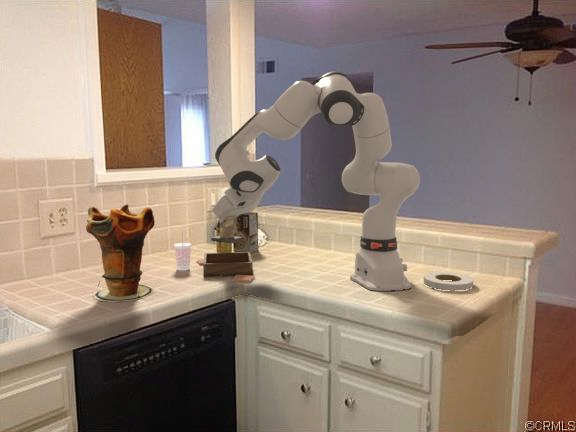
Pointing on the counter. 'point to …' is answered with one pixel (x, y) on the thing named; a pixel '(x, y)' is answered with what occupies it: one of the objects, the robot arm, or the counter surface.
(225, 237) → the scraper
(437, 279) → the roll of tape
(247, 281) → the tile
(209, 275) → the box
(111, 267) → the decorative vase
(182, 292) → the counter surface
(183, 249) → the beverage cup
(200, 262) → the tile
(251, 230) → the coffee box
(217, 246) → the sauce bottle
